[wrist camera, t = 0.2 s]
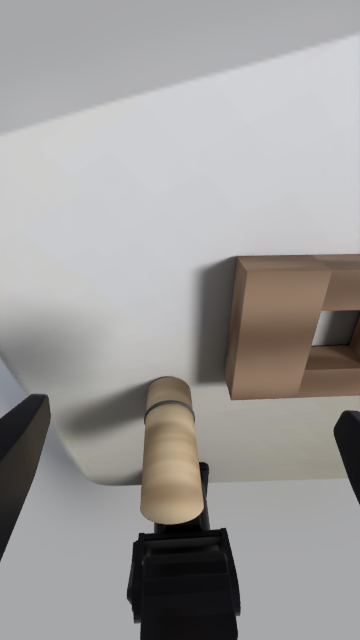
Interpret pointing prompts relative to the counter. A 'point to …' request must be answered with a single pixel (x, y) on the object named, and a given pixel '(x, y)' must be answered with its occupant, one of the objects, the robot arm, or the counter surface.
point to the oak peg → (170, 455)
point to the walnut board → (291, 327)
